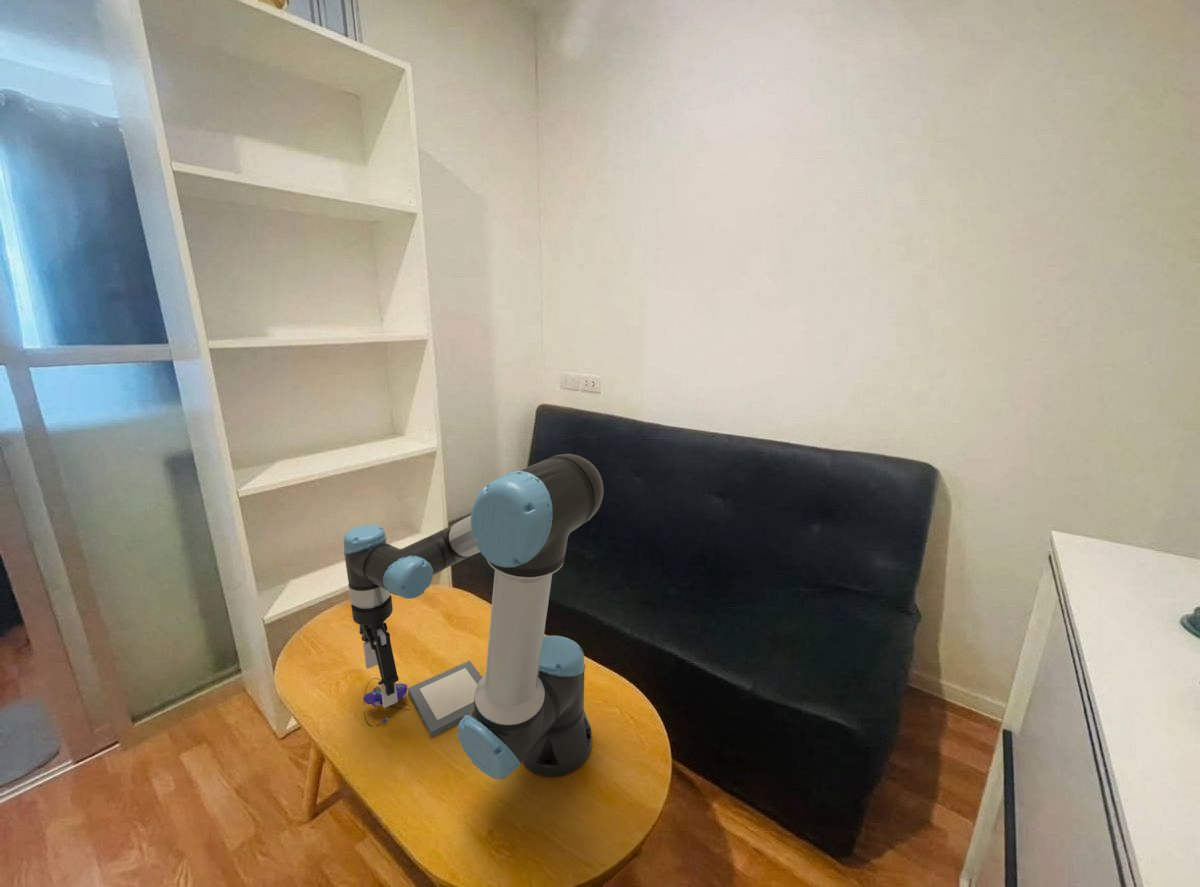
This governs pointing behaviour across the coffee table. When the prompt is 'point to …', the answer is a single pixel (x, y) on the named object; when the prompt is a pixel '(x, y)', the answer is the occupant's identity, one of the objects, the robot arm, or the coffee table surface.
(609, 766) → the coffee table surface
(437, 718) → the grey picture frame
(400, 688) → the game controller
